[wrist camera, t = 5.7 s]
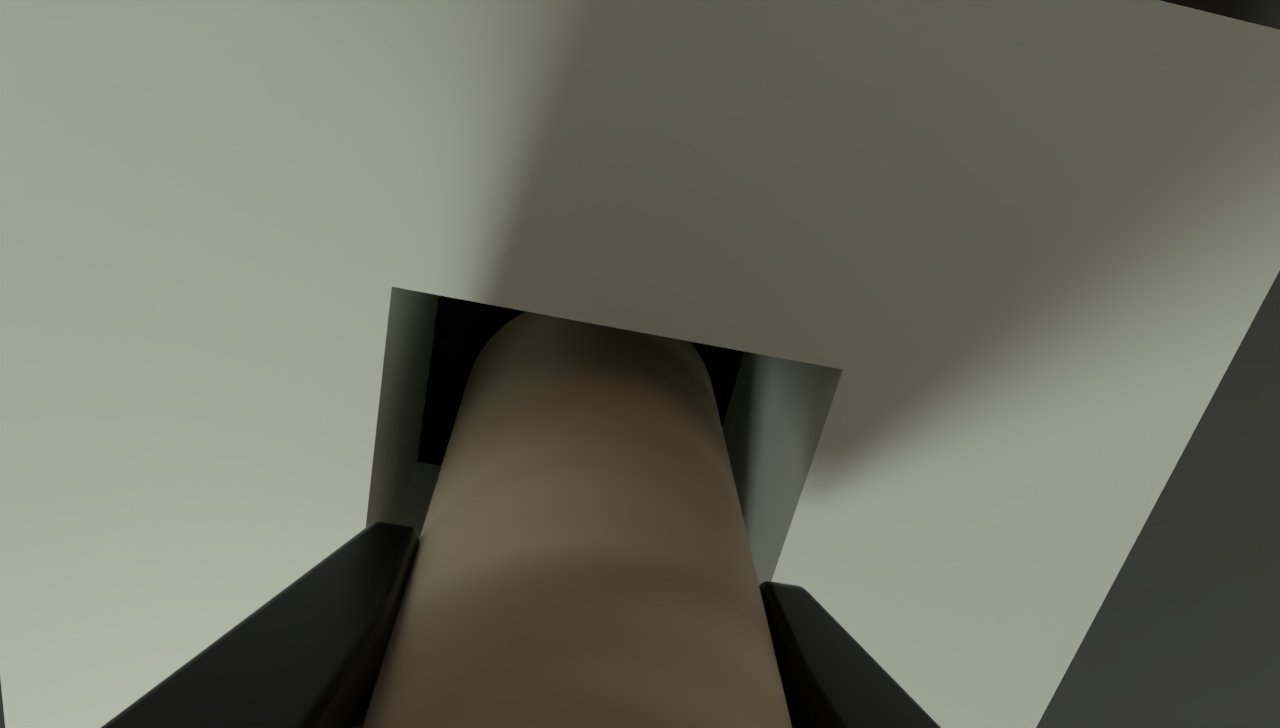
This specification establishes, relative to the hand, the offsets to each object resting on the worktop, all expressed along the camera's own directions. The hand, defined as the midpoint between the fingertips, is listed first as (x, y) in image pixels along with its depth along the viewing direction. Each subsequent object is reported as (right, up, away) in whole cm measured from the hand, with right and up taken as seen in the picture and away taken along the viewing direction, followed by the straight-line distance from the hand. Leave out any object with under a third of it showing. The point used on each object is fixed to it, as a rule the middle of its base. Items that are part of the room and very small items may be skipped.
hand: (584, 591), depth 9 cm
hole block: (0, +2, +5) cm, 5 cm away
